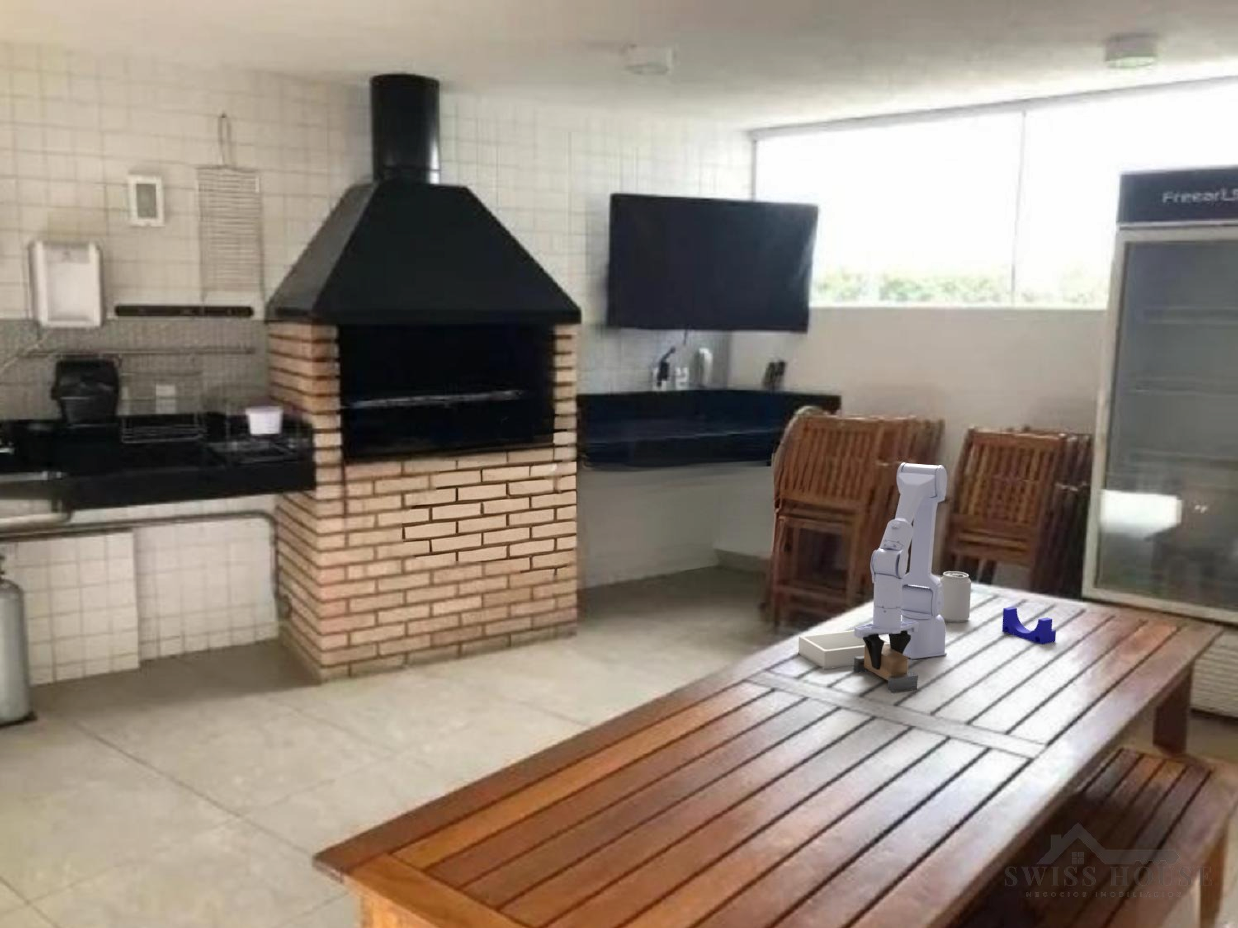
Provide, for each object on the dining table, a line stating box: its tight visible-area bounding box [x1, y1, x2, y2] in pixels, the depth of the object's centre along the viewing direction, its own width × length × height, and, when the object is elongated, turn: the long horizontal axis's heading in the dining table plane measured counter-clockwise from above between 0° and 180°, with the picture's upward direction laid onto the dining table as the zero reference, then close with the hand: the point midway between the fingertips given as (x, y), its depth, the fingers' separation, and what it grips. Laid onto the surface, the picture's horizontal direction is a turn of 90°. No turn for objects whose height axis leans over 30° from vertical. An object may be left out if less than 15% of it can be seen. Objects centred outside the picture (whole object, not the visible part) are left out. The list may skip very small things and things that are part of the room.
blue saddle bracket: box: [1001, 606, 1057, 646], centre depth 253 cm, size 12×4×6 cm, turn 28°
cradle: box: [853, 656, 919, 694], centre depth 223 cm, size 6×15×3 cm, turn 19°
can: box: [939, 570, 972, 623], centre depth 267 cm, size 8×8×12 cm
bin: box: [798, 629, 890, 670], centre depth 238 cm, size 18×12×4 cm, turn 109°
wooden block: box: [864, 645, 909, 681], centre depth 223 cm, size 4×10×5 cm, turn 20°
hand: (885, 666), depth 223 cm, fingers closed on wooden block, 4 cm apart
